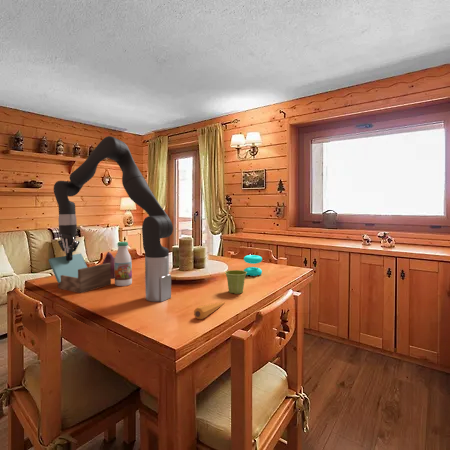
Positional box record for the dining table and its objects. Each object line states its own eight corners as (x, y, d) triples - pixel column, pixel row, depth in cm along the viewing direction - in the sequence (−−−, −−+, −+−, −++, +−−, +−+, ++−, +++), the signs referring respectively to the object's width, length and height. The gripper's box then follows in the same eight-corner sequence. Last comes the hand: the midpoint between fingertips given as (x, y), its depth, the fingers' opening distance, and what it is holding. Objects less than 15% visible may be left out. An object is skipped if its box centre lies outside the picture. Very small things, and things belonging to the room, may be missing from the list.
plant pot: (221, 290, 134) (221, 270, 133) (240, 288, 138) (240, 269, 137) (230, 296, 125) (230, 275, 125) (250, 293, 129) (250, 273, 129)
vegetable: (114, 285, 153) (113, 258, 148) (96, 281, 155) (94, 254, 150) (125, 275, 163) (124, 250, 158) (108, 272, 165) (106, 246, 159)
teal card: (90, 274, 149) (81, 253, 151) (59, 282, 135) (49, 258, 137) (87, 276, 150) (78, 255, 152) (57, 284, 136) (47, 261, 138)
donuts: (243, 254, 169) (261, 254, 169) (243, 272, 170) (261, 272, 169) (244, 257, 159) (263, 257, 159) (243, 276, 160) (262, 276, 159)
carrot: (200, 323, 99) (205, 311, 98) (189, 316, 101) (195, 304, 100) (227, 310, 117) (232, 300, 116) (218, 304, 118) (222, 294, 118)
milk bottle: (111, 284, 143) (110, 242, 141) (126, 281, 149) (126, 240, 147) (119, 287, 138) (119, 243, 136) (135, 284, 143) (134, 242, 142)
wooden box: (110, 284, 143) (110, 263, 142) (80, 293, 129) (80, 269, 128) (89, 280, 150) (88, 260, 149) (58, 288, 135) (57, 266, 135)
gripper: (84, 223, 142) (85, 260, 144) (66, 223, 149) (67, 258, 150) (69, 224, 136) (71, 262, 137) (51, 224, 142) (53, 260, 143)
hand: (69, 260), depth 143 cm, fingers closed
